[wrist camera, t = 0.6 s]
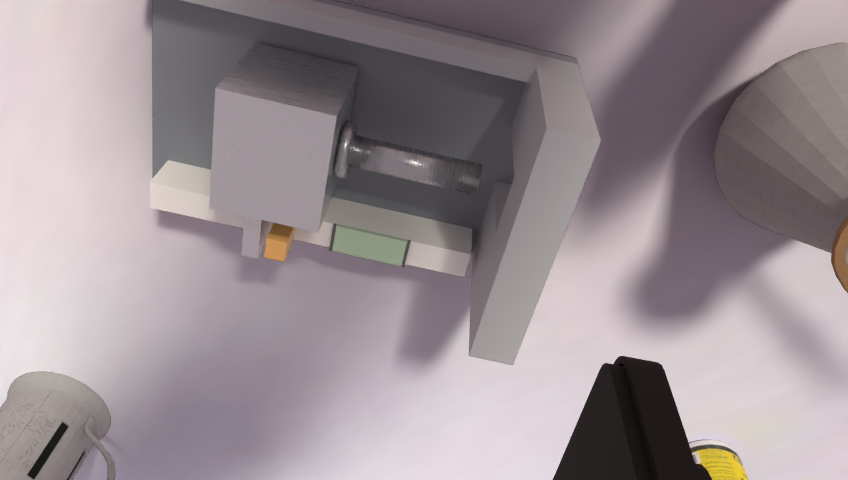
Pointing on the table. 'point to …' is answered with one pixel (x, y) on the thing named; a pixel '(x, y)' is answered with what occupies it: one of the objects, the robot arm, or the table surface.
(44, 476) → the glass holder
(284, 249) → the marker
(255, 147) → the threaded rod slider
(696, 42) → the table surface
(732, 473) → the supplement bottle
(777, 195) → the coffee pot
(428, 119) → the track
